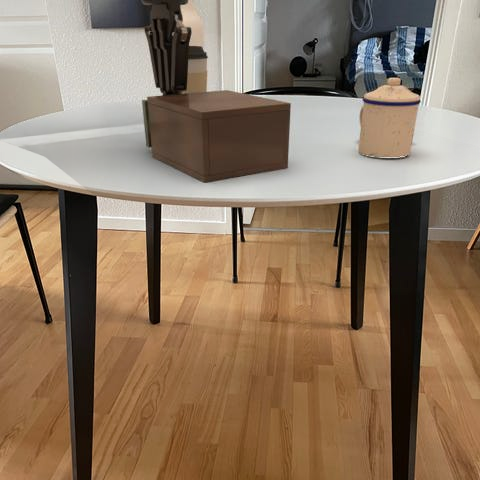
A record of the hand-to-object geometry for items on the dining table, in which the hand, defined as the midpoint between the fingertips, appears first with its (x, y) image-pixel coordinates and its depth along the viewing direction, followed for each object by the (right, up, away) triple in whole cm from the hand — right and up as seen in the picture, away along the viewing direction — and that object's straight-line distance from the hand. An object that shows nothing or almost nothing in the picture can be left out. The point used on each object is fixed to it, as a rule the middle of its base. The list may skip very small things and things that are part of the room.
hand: (173, 132), depth 90 cm
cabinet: (+8, -9, -10) cm, 16 cm away
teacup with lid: (+36, -5, -4) cm, 37 cm away
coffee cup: (+1, +11, +22) cm, 25 cm away
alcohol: (-1, +23, +42) cm, 48 cm away
